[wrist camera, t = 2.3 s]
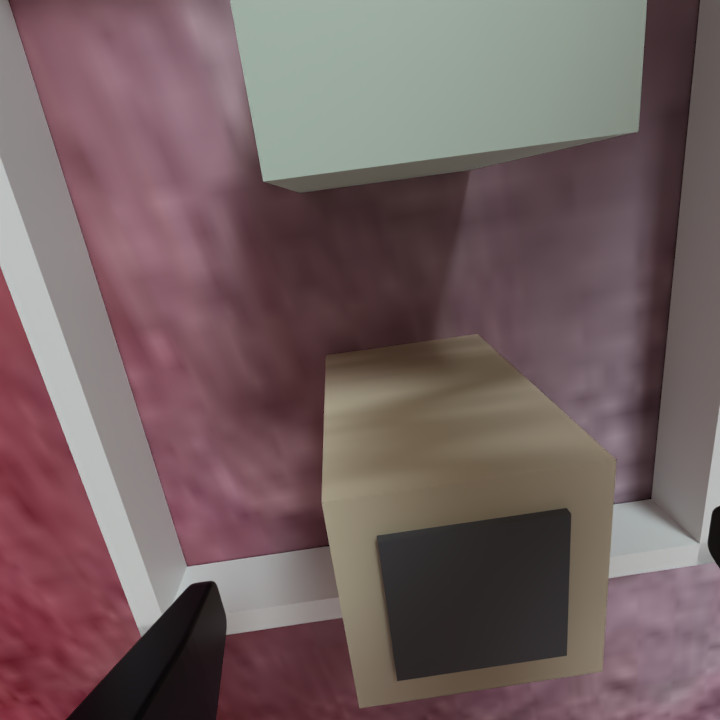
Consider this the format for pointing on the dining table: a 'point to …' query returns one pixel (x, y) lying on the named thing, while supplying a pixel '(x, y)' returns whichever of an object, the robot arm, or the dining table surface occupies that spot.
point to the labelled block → (461, 523)
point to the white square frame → (314, 566)
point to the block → (432, 83)
